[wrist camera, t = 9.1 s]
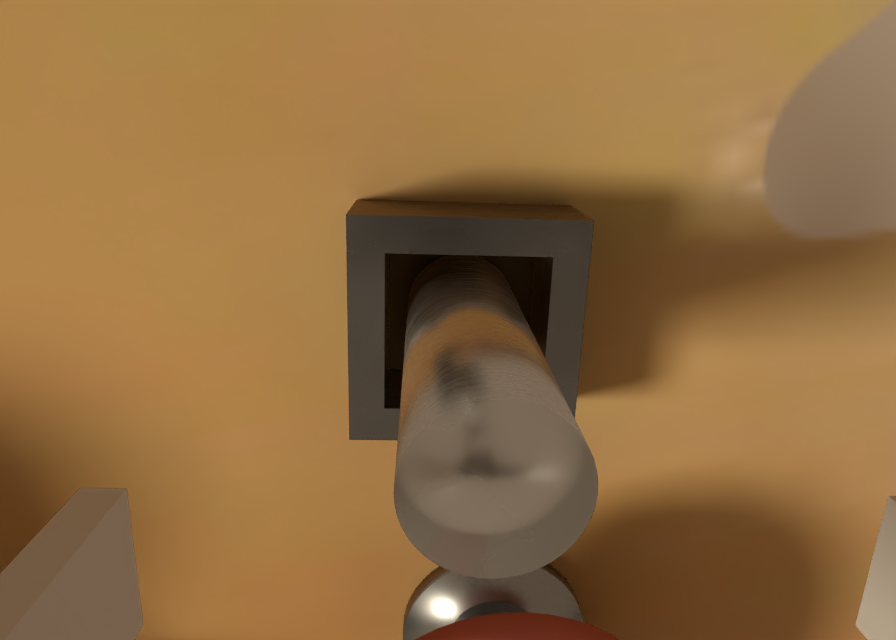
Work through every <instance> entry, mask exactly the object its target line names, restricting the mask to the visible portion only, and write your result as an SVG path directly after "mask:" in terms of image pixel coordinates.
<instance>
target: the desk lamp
mask: <svg viewBox="0 0 896 640" xmlns="http://www.w3.org/2000/svg"><path fill="white" fill-rule="evenodd" d="M415 640H618V639H617V638H615V637H614V636H612V635H611V634H608V633H606V632H604V631H602V630H600V629H598V628H596V627H594V626H591V625H588V624H585V623H582V622H579V621H576V620H573V619H570V618H565V617H560V616H555V615H550V614H540V613H529V612H519V613H498V614H490V615H482V616H477V617H473V618H469V619H465V620H460V621H457V622H454V623H451V624H449V625H446V626H443V627H440V628H437V629H435V630H433V631H431V632H429V633H427V634H425V635H423V636H421V637H419V638H417V639H415Z"/></svg>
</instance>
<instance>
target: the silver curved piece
mask: <svg viewBox="0 0 896 640" xmlns="http://www.w3.org/2000/svg"><path fill="white" fill-rule="evenodd" d="M519 612H529V613H540V614H550V615H555V616H560V617H565V618H570V619H573V620H576V621H579V622H582V623H584V622H583V617H582V614H581V610H580V607H579V604H578V601H577V598H576V595H575V593H574V591H573V589H572V587H571V586H570V585H569V583H568V582H567V580H566V579H565V578H564V577H563V576H562V575H561V574H560V573H559V572H558V571H557V570H555V569H554V568H553V567H552V566H550V565H549V564H547V565H545V566H543V567H541V568H539V569H536V570H534V571H531V572H529V573H525V574H522V575H518V576H513V577H507V578H495V579H488V578H476V577H470V576H465V575H461V574H458V573H455V572H452V571H450V570H447V569H445V568H443V567H441V566H439V567H438V568H437V569H435V570H434V571H432V572H431V573H430V574H429V575H428V576H427V577H426V578H425V579H423V581H422V582H421V583H420V584H419V585H418V587H417V588H416V589H415V591H414V593H413V594H412V596H411V598H410V600H409V602H408V605H407V607H406V611H405V615H404V625H403V640H415V639H417V638H419V637H421V636H423V635H425V634H427V633H429V632H431V631H433V630H435V629H437V628H440V627H443V626H446V625H449V624H451V623H454V622H457V621H460V620H465V619H469V618H473V617H477V616H482V615H490V614H498V613H519Z"/></svg>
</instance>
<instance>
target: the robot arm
mask: <svg viewBox="0 0 896 640" xmlns="http://www.w3.org/2000/svg"><path fill="white" fill-rule="evenodd" d="M142 626H143V617H142V609H141V601H140V592H139V584H138V576H137V568H136V560H135V552H134V544H133V536H132V528H131V519H130V511H129V503H128V495H127V489H123V488H80V489H79V490H78V491H77V492H76V493H75V494H74V495H73V496H72V497H71V498H70V499H69V500H68V501H67V503H66V504H65V505H64V506H63V507H62V508H61V509H60V510H59V511H58V512H57V513H56V514H55V515H54V516H53V517H52V519H51V520H50V521H49V522H48V523H47V524H46V525H45V526H44V527H43V528H42V529H41V530H40V531H39V532H38V534H37V535H36V536H35V537H34V538H33V539H32V540H31V541H30V542H29V543H28V544H27V545H26V546H25V547H24V548H23V550H22V551H21V552H20V553H19V554H18V555H17V556H16V557H15V558H14V559H13V560H12V561H11V562H10V563H9V565H8V566H7V567H6V568H5V569H4V570H3V571H2V572H1V573H0V640H135V638H136V637H137V635H138V633H139V631H140V629H141V628H142ZM856 626H857V628H858V629H859V630H860V631H861V632H862V634H863V635H864V636H865V637H866V638H867V639H868V640H896V496H888V499H887V503H886V507H885V510H884V514H883V518H882V522H881V526H880V530H879V534H878V538H877V542H876V546H875V550H874V554H873V558H872V562H871V566H870V570H869V574H868V578H867V582H866V586H865V589H864V593H863V597H862V601H861V605H860V609H859V613H858V617H857V621H856Z"/></svg>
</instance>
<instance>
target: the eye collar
mask: <svg viewBox="0 0 896 640" xmlns="http://www.w3.org/2000/svg"><path fill="white" fill-rule="evenodd" d="M593 226H594V221H593V220H592V219H590V218H589V217H587V216H586V215H584V214H583V213H581V212H580V211H578V210H577V209H575V208H574V207H572V206H570V205H533V204H496V203H458V202H421V201H384V200H356V201H355V203H354V204H353V206H352V207H351V208H350V210H349V211H348V213H347V214H346V242H347V309H348V376H349V440H398V430H399V417H400V403H401V390H402V376H403V370H389V294H390V253H394V254H437V255H480V256H523V257H534V267H533V281H532V295H531V308H530V322H529V327H530V329H531V331H532V333H533V335H534V337H535V339H536V341H537V343H538V345H539V347H540V349H541V351H542V353H543V355H544V357H545V359H546V361H547V363H548V366H549V368H550V370H551V372H552V374H553V376H554V378H555V380H556V382H557V384H558V386H559V388H560V390H561V392H562V394H563V396H564V398H565V400H566V402H567V404H568V406H569V408H570V410H571V412H572V414H573V416H574V418H575V409H576V399H577V389H578V379H579V369H580V359H581V348H582V338H583V328H584V318H585V308H586V298H587V287H588V277H589V267H590V257H591V247H592V237H593Z"/></svg>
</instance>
